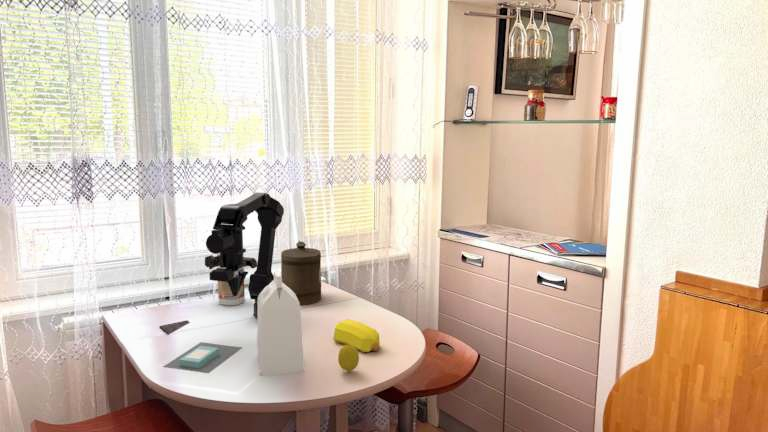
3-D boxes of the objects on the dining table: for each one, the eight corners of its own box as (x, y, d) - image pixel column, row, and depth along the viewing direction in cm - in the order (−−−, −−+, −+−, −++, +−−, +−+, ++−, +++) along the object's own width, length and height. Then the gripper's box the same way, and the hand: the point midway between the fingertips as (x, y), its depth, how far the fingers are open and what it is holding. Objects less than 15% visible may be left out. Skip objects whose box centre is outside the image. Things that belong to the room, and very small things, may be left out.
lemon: (338, 367, 159) (338, 340, 158) (358, 367, 160) (358, 339, 158) (338, 376, 154) (338, 348, 152) (359, 376, 154) (359, 347, 153)
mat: (200, 344, 175) (200, 342, 175) (242, 349, 171) (242, 347, 171) (163, 368, 158) (163, 366, 158) (208, 375, 154) (208, 373, 154)
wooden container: (329, 298, 220) (328, 241, 216) (299, 308, 209) (298, 248, 205) (303, 290, 229) (302, 236, 226) (273, 299, 218) (271, 242, 215)
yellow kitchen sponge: (345, 334, 185) (327, 340, 179) (345, 313, 183) (327, 319, 178) (386, 349, 172) (368, 357, 167) (386, 328, 171) (368, 335, 166)
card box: (200, 345, 168) (179, 359, 158) (218, 347, 166) (198, 361, 157) (200, 351, 168) (179, 365, 159) (219, 353, 166) (199, 368, 157)
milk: (304, 370, 157) (302, 277, 153) (260, 376, 154) (257, 281, 150) (297, 353, 169) (296, 266, 164) (257, 358, 165) (254, 269, 161)
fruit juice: (213, 301, 215) (210, 227, 210) (236, 296, 221) (233, 224, 216) (226, 307, 208) (223, 231, 203) (249, 302, 215) (247, 227, 210)
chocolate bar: (187, 320, 194) (208, 336, 180) (187, 322, 194) (208, 339, 180) (159, 326, 188) (179, 343, 174) (159, 328, 189) (179, 346, 175)
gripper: (225, 238, 188) (227, 285, 191) (192, 251, 170) (194, 302, 173) (257, 240, 185) (258, 288, 188) (226, 254, 167) (228, 306, 170)
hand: (235, 295), depth 180 cm, fingers closed
